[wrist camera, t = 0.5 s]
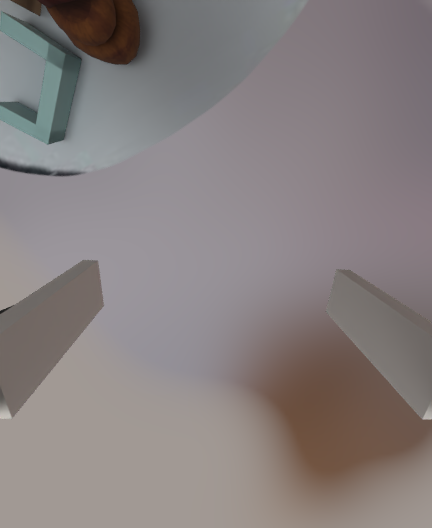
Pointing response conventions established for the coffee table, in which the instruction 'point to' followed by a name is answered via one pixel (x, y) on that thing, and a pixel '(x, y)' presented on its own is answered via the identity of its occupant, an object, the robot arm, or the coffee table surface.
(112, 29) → the wooden figurine
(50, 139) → the endcaps
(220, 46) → the coffee table surface
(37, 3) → the slat
